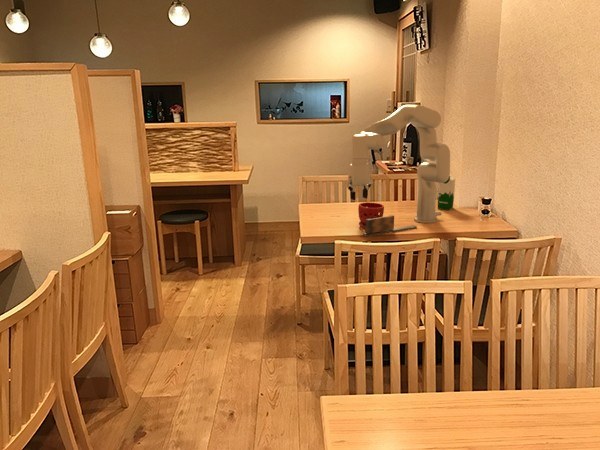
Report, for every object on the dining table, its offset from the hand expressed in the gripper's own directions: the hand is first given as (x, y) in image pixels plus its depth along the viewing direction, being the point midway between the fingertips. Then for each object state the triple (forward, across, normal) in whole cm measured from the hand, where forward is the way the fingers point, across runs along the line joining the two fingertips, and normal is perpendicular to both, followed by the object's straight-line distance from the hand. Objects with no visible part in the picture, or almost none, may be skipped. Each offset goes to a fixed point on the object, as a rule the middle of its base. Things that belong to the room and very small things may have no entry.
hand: (359, 198), depth 238 cm
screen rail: (+20, -20, 0) cm, 28 cm away
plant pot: (+20, -16, -12) cm, 28 cm away
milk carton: (+20, -77, -23) cm, 83 cm away
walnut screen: (+18, -13, 0) cm, 22 cm away
